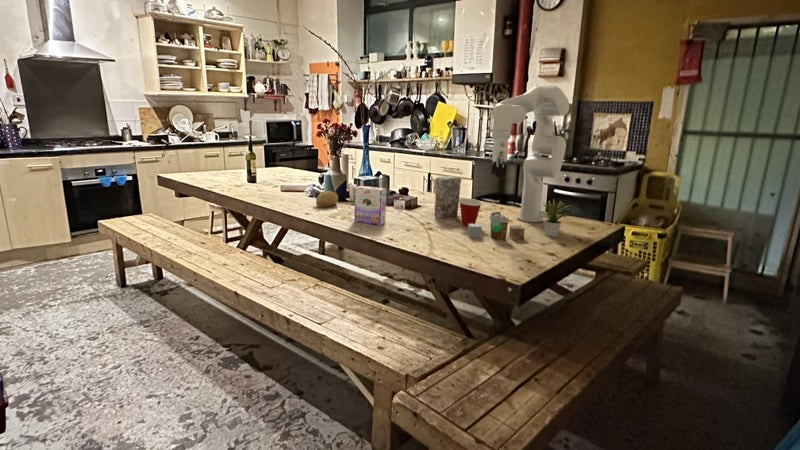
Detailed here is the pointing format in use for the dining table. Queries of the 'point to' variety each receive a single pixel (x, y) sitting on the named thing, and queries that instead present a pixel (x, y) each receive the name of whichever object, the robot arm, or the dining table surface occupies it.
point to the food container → (498, 226)
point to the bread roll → (326, 199)
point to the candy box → (370, 205)
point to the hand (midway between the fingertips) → (496, 175)
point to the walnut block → (516, 232)
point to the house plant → (553, 218)
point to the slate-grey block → (474, 230)
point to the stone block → (447, 196)
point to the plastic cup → (469, 211)
